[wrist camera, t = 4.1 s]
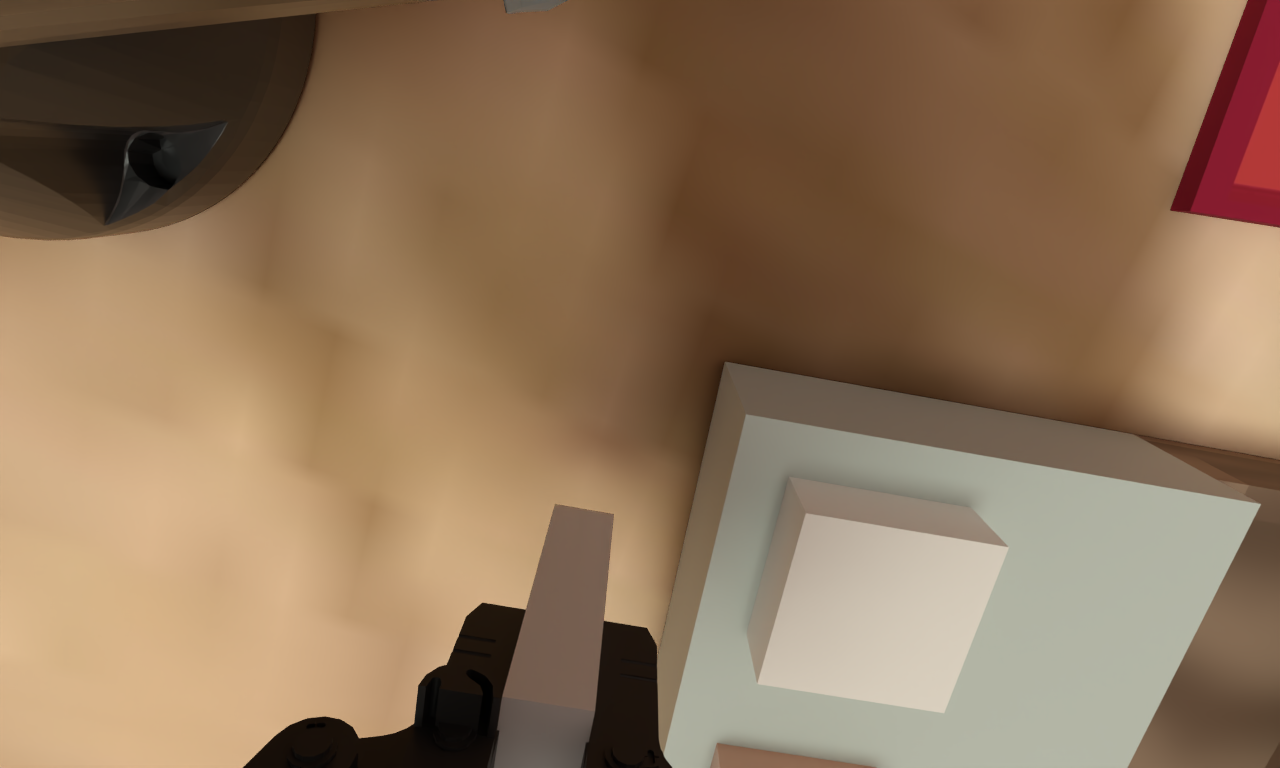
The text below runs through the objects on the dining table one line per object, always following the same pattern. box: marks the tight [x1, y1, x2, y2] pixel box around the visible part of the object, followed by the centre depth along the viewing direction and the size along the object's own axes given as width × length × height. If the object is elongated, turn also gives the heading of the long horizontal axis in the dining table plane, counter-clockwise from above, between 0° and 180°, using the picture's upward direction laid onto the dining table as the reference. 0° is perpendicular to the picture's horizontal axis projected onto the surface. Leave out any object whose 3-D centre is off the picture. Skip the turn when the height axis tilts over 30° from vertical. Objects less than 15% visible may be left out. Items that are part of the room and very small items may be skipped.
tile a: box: [746, 477, 1009, 713], centre depth 18 cm, size 5×5×2 cm
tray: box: [1127, 434, 1280, 768], centre depth 24 cm, size 18×11×4 cm, turn 170°
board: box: [657, 362, 1261, 768], centre depth 23 cm, size 18×14×5 cm
